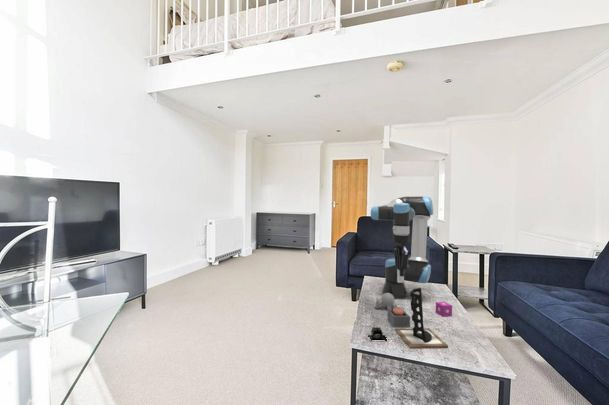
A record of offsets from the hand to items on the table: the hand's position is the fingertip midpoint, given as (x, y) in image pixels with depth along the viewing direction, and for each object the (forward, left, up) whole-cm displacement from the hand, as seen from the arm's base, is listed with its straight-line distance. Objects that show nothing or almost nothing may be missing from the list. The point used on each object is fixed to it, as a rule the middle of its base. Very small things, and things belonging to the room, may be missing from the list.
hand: (400, 282), depth 130 cm
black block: (+13, -16, -21) cm, 30 cm away
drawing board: (+15, +3, -20) cm, 25 cm away
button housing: (0, -1, -20) cm, 20 cm away
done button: (0, -1, -16) cm, 16 cm away
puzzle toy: (-10, +28, -21) cm, 37 cm away
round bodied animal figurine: (-19, -1, -21) cm, 28 cm away
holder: (+15, +3, -20) cm, 25 cm away
